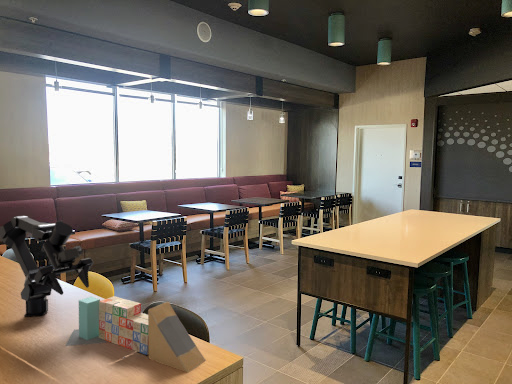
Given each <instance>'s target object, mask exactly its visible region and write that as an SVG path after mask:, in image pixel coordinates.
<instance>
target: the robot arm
mask: <svg viewBox="0 0 512 384" xmlns="http://www.w3.org/2000/svg"><path fill="white" fill-rule="evenodd" d="M73 231H74V229H73V227H72V226H70V224H67V223H65V222H64V221H63V220H57V221H56V222H55V223H52V222H48V223H47V222H40V221H37V220H35V219H33V218H31V217H29V216H28V215H18V216H13V217H12V218H11V219H10V220H9V221H8V222H5V223H4V224H3V225H2V226H1V228H0V239H1V241H2V243H3V244H4V245H5V246H7V247H9V248H11V250H12V252H13V254H14V256H15V258H16V260H17V262H18V264H19V266H20V268H21V271H22V272H23V275H24V277H25V280H24V284H23V288H22V290H21V292H20V297H21V300H23V301H25V313H24V315H23V316H24V317H25V318H26V317H41V316H42V317H43V316H44V315H45V314H46V313H47V312H48V311H49V299H48V298H47V297H49V296H51V294H52V290H53V291H55V292H56V293H57V294H59V295H61V296H62V295H63V294H64V291H63V288H62V286H61V284H60V282H59V280H58V278H57V275H60V274H61V275H62V274H65V273H69V272H74V271H75V272H76V274H77V277H78V278H79V280H80V282H81V283H82V285H83V286H84V287H85V288H86V289H88V288H89V286H90V284H89V283H90V281H89V271H90V269H91V268H92V266H93V265H94V263H95V262H94V261H93V259H92V258H91V257H87V258H82V259H80V260H79V261H78V262H77V264H74V263H76V259H77V258H80V256H81V255H83V252H84V251H83V248H82V247H81V245H78V246H77V245H76V246H74V247H73V248H69V249H65V247H64V245H66V243H67V242H68V240H69V239H70V237H71V236H72V234H73ZM28 233H29V234H31V235H32V236H31V237H32V238H33V239H34V240H35V241H37V242H43V241H44V242H43V244H42V247H41V249H40V250H41V253H43V252H45V254H46V256H47V258H48V262H47V263H48V266H42V267H38V265H37V263H36V261H35V259H34V258H33V255H32V253H31V251H30V249H29V247H28V245H27V243H26V238H27V234H28ZM51 265H52V266H51ZM63 296H64V295H63Z"/></svg>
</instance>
